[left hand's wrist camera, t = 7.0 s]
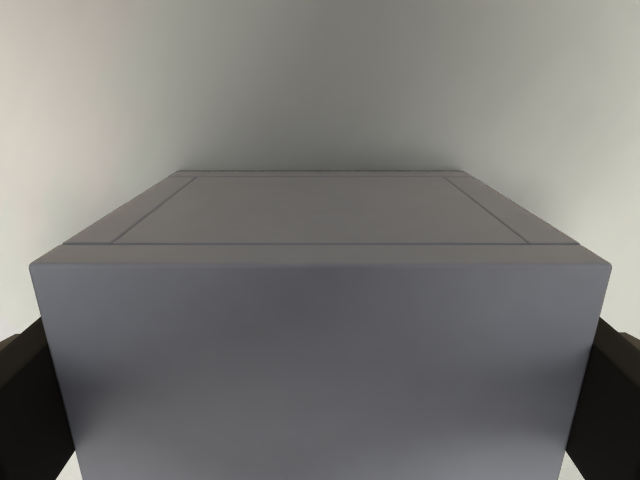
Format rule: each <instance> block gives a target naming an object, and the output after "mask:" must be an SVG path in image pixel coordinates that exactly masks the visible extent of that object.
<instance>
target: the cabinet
mask: <svg viewBox="0 0 640 480" xmlns="http://www.w3.org/2000/svg"><path fill="white" fill-rule="evenodd" d="M611 270H612V265H611V264H610V263H609V262H607V261H606V260H604V259H603V258H601V257H599V256H598V255H596V254H595V253H593V252H591V251H590V250H588V249H587V248H585V247H584V246H581V245H580V243H578V242H577V241H575V240H574V239H572V238H570V237H569V236H567V235H566V234H564V233H562V232H561V231H559V230H558V229H556V228H554V227H553V226H551V225H550V224H548V223H546V222H545V221H543V220H542V219H540V218H538V217H537V216H535V215H534V214H532V213H530V212H529V211H527V210H526V209H524V208H522V207H521V206H519V205H518V204H516V203H514V202H513V201H511V200H510V199H508V198H506V197H505V196H503V195H502V194H500V193H498V192H497V191H495V190H494V189H492V188H490V187H489V186H487V185H486V184H484V183H482V182H481V181H479V180H478V179H476V178H474V177H472V176H471V175H469V174H467V173H466V172H464V171H177V172H175V173H173V174H172V175H170V176H168V177H167V178H165V179H164V180H162V181H161V182H159V183H157V184H156V185H154V186H153V187H151V188H150V189H148V190H146V191H145V192H143V193H142V194H140V195H138V196H137V197H135V198H134V199H132V200H130V201H129V202H127V203H126V204H124V205H122V206H121V207H119V208H118V209H116V210H115V211H113V212H111V213H110V214H108V215H107V216H105V217H103V218H102V219H100V220H99V221H97V222H95V223H94V224H92V225H91V226H89V227H87V228H86V229H84V230H83V231H81V232H80V233H78V234H76V235H75V236H73V237H72V238H70V239H68V240H67V241H65V242H64V243H63V244H62V245H59V246H57V247H56V248H54V249H52V250H51V251H49V252H48V253H46V254H44V255H43V256H41V257H40V258H38V259H36V260H35V261H33V262H32V263H30V265H29V271H30V275H31V279H32V283H33V287H34V290H35V294H36V298H37V302H38V306H39V310H40V314H41V318H42V322H43V326H44V330H45V334H46V337H47V341H48V345H49V349H50V353H51V357H52V361H53V365H54V369H55V373H56V377H57V380H58V384H59V388H60V392H61V396H62V400H63V404H64V408H65V412H66V416H67V420H68V424H69V427H70V431H71V435H72V439H73V443H74V447H75V451H76V455H77V459H78V463H79V467H80V471H81V474H82V478H83V480H558V477H559V473H560V469H561V465H562V461H563V457H564V454H565V450H566V446H567V442H568V438H569V434H570V430H571V426H572V422H573V418H574V414H575V411H576V407H577V403H578V399H579V395H580V391H581V387H582V383H583V379H584V375H585V371H586V368H587V364H588V360H589V356H590V352H591V348H592V344H593V340H594V336H595V332H596V328H597V324H598V321H599V317H600V313H601V309H602V305H603V301H604V297H605V293H606V289H607V285H608V281H609V278H610V274H611Z"/></svg>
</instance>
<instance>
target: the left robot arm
mask: <svg viewBox="0 0 640 480" xmlns="http://www.w3.org/2000/svg"><path fill="white" fill-rule="evenodd" d="M74 451H75V447H74V443H73V439H72V435H71V431H70V427H69V424H68V420H67V416H66V412H65V408H64V404H63V400H62V396H61V392H60V388H59V384H58V380H57V377H56V373H55V369H54V365H53V361H52V357H51V353H50V349H49V345H48V341H47V337H46V334H45V330H44V326H43V322H42V318H41V317H40V318H39V319H38V320H36V321H35V322H34V323H33V324H32V325H30V326H29V327H28V328H27V329H26V330H25V331H23V332H22V333H21V334H15V335H13V336H11V337H9V338H7V339H5V340H3V341H1V342H0V480H56V478H57V477H58V475H59V474H60V472H61V471H62V469H63V468H64V466H65V465H66V463H67V462H68V460H69V459H70V457H71V456H72V454H73V453H74ZM566 452H567V453H568V455H569V456H570V458H571V459H572V461H573V462H574V464H575V465H576V467H577V468H578V470H579V471H580V473H581V474H582V476H583V478H584V479H585V480H640V340H639V339H637V338H635V337H633V336H631V335H629V334H627V333H625V332H617V331H616V330H615V329H614V328H612V327H611V326H610V325H609V324H608V323H606V322H605V321H604V320H603V319H602V318H601V317H599V321H598V324H597V328H596V332H595V336H594V340H593V344H592V348H591V352H590V356H589V360H588V364H587V368H586V371H585V375H584V379H583V383H582V387H581V391H580V395H579V399H578V403H577V407H576V411H575V414H574V418H573V422H572V426H571V430H570V434H569V438H568V442H567V446H566Z"/></svg>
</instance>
